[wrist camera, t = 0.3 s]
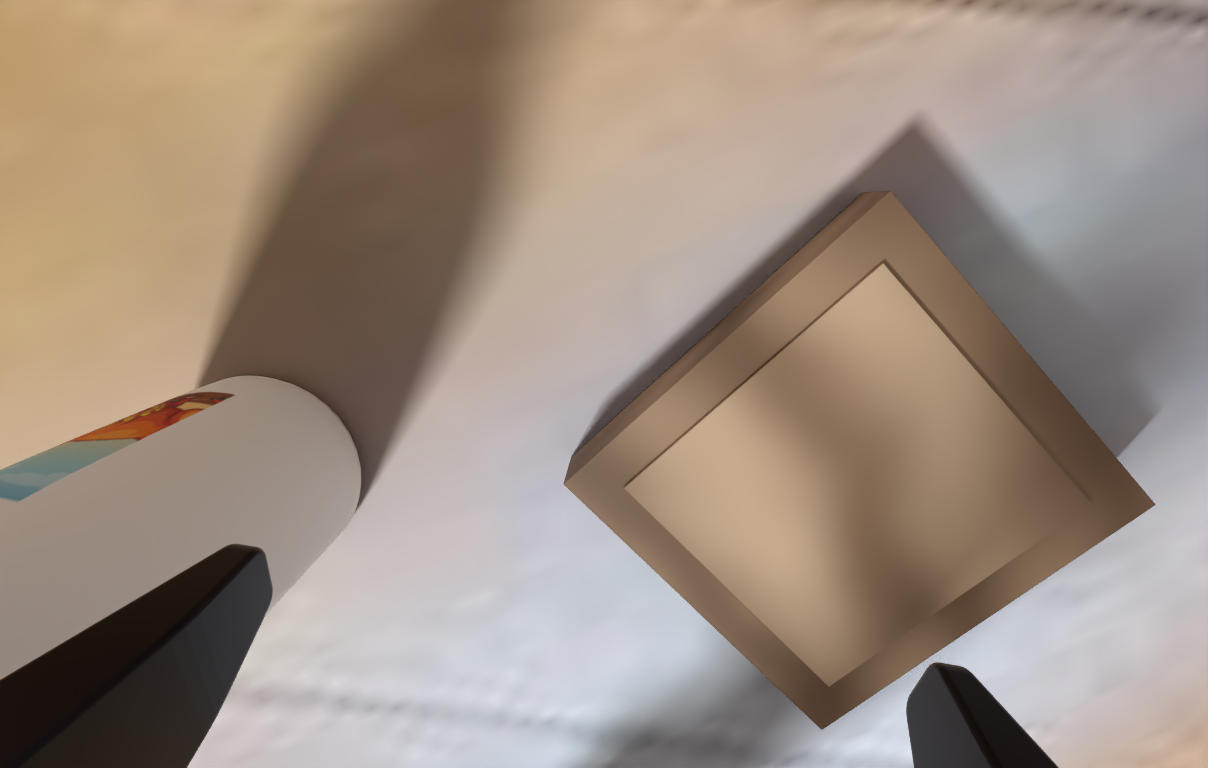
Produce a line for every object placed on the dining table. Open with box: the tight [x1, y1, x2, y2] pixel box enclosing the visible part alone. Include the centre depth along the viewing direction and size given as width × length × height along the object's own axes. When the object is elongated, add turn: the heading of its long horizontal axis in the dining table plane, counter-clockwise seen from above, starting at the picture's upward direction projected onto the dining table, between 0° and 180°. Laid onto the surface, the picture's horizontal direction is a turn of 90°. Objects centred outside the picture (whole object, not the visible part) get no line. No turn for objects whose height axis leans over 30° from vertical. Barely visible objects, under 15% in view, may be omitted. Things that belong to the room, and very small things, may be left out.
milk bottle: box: [0, 376, 361, 679], centre depth 16 cm, size 8×8×20 cm
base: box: [564, 191, 1155, 729], centre depth 23 cm, size 14×14×3 cm
